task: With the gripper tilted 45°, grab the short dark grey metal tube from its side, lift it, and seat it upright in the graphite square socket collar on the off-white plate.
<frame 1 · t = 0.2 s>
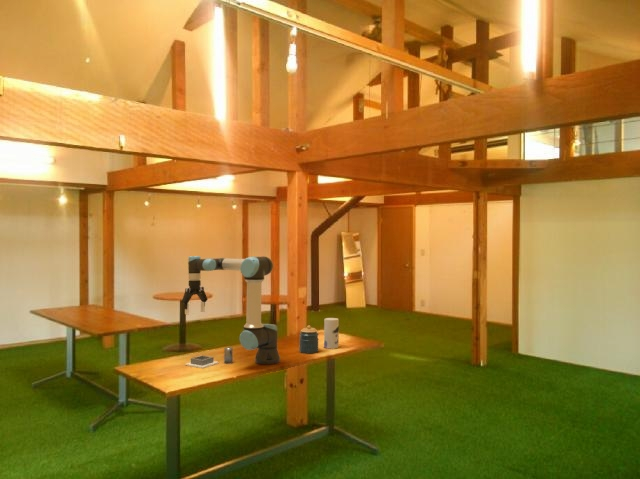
hand: (194, 313, 306), 27 cm above the table, tool pointing down, fingers open, 13 cm apart
square socket: (202, 364, 286), on the table
metal tube: (228, 362, 290), on the table
canister: (308, 351, 320), on the table
container: (331, 347, 333), on the table
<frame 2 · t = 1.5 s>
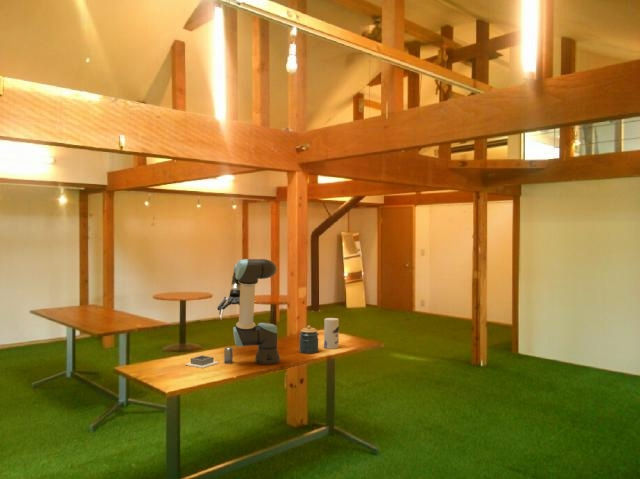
hand: (231, 318, 301), 25 cm above the table, tool tilted 45°, fingers open, 13 cm apart
nothing on the table moved.
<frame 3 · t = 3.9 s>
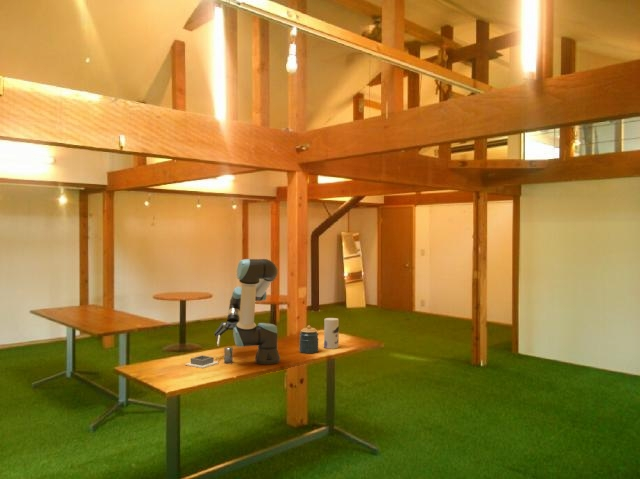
hand: (228, 345, 295), 10 cm above the table, tool tilted 45°, fingers open, 13 cm apart
nothing on the table moved.
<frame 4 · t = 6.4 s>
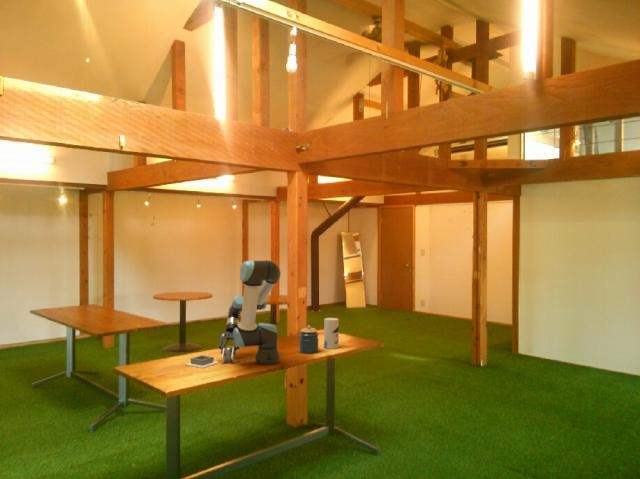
hand: (227, 358, 286), 3 cm above the table, tool tilted 45°, fingers closed on metal tube, 5 cm apart
metal tube: (228, 362, 290), on the table, touching gripper
everything else where it was.
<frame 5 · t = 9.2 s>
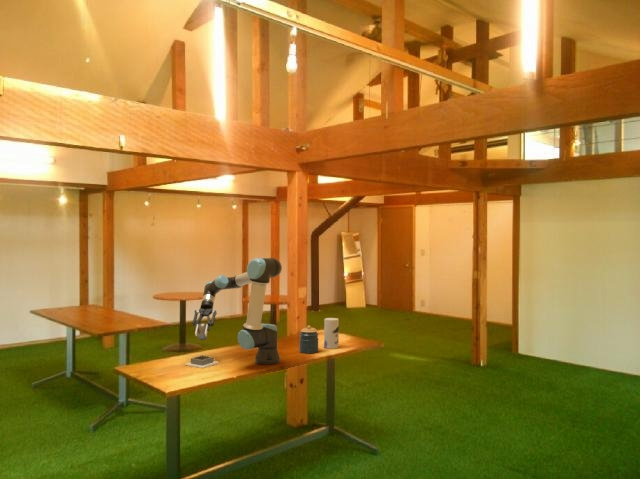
hand: (200, 334, 283), 18 cm above the table, tool tilted 45°, fingers closed on metal tube, 5 cm apart
metal tube: (202, 339, 286), point 15 cm above the table, touching gripper
everything else where it was.
when the fingers open (6 cm above the table, at t = 12.4 s): metal tube drops 1 cm, resting on square socket.
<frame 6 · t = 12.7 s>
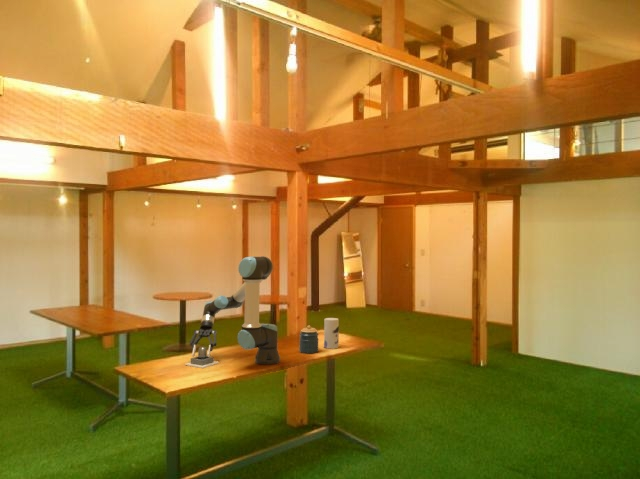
hand: (200, 355, 283), 6 cm above the table, tool tilted 45°, fingers open, 8 cm apart
metal tube: (202, 362, 286), point 1 cm above the table, touching square socket
everything else where it was.
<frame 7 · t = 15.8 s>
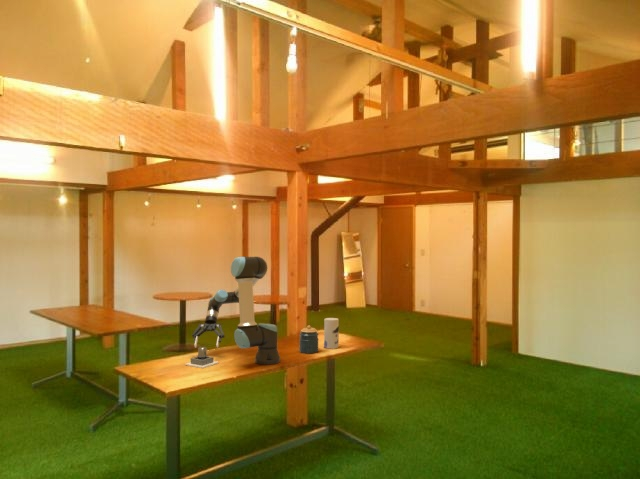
hand: (206, 346, 297), 8 cm above the table, tool tilted 45°, fingers open, 13 cm apart
nothing on the table moved.
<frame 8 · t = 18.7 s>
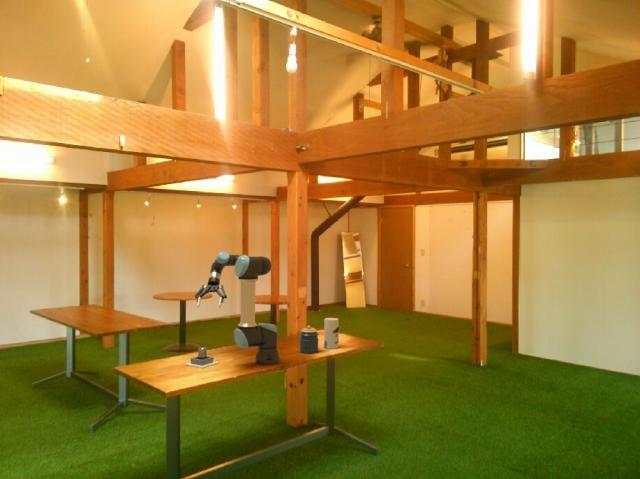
hand: (208, 306, 301), 33 cm above the table, tool tilted 45°, fingers open, 13 cm apart
nothing on the table moved.
at the end: metal tube 0.2 cm off-centre on the square socket, point 0.8 cm above the square socket's base; metal tube tilted 0°; the gripper is holding nothing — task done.
